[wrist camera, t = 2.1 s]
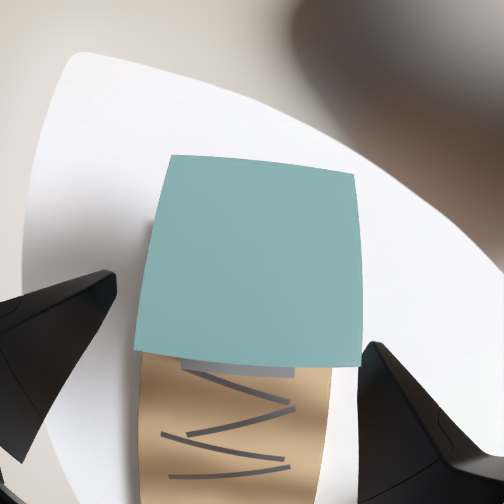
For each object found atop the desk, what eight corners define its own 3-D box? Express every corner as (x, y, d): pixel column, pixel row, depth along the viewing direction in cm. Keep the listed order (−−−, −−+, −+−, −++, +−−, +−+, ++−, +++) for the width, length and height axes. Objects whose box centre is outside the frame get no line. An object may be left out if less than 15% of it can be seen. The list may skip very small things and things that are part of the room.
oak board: (301, 530, 13) (305, 539, 11) (148, 519, 12) (143, 527, 11) (327, 242, 21) (333, 234, 19) (167, 227, 20) (163, 218, 19)
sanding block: (285, 373, 16) (386, 419, 5) (187, 365, 16) (97, 400, 4) (291, 265, 18) (371, 143, 7) (200, 256, 18) (156, 120, 7)
